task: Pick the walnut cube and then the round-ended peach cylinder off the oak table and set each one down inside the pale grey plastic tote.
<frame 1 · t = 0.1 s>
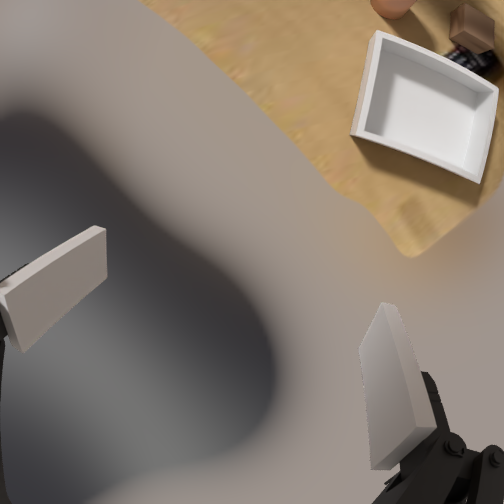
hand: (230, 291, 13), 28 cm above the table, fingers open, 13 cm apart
walnut cube: (464, 33, 24), on the table
tote: (422, 108, 31), on the table
round-ended peach cylinder: (388, 4, 26), on the table
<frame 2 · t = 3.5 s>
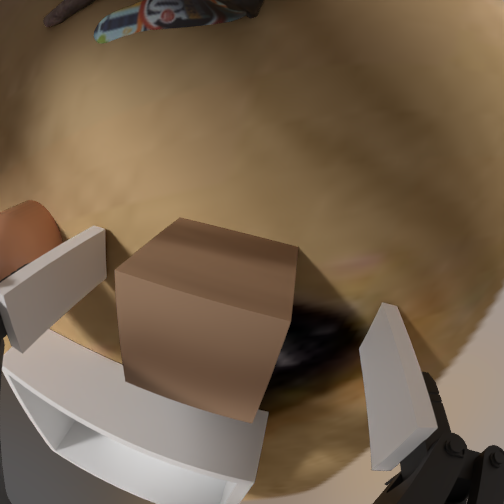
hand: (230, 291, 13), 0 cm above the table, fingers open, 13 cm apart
walnut cube: (227, 283, 13), on the table
tote: (141, 421, 20), on the table
round-ended peach cylinder: (37, 240, 14), on the table, touching gripper
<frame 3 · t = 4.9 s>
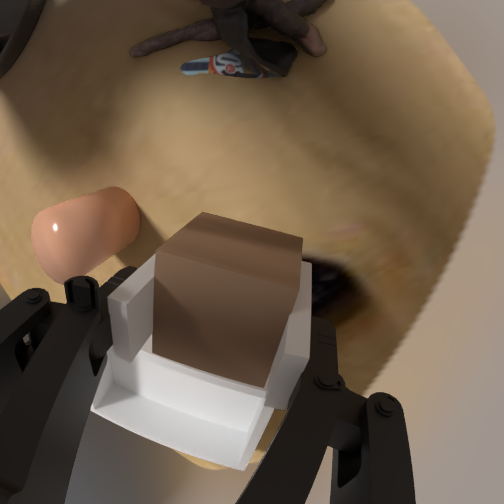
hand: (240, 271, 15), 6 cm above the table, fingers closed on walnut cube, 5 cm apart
stuffed animal: (240, 18, 15), on the table
walnut cube: (241, 270, 15), point 5 cm above the table, touching gripper
tote: (180, 373, 27), on the table
round-ended peach cylinder: (114, 217, 22), on the table
when the fingers open (4 cm above the table, at t = 8.0 s): walnut cube drops 3 cm, resting on tote.
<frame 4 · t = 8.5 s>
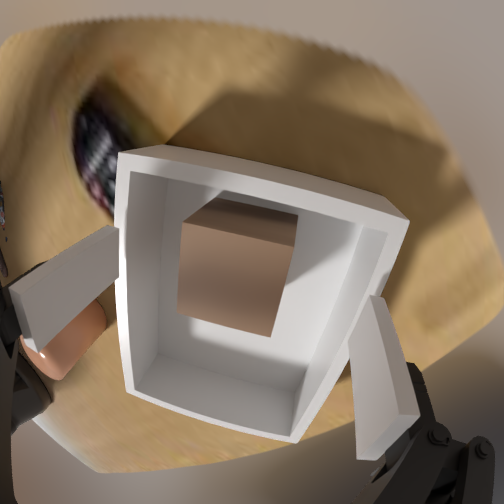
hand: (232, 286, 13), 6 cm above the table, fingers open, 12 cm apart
walnut cube: (248, 244, 18), resting on tote
tote: (243, 294, 20), on the table
round-ended peach cylinder: (85, 311, 24), on the table
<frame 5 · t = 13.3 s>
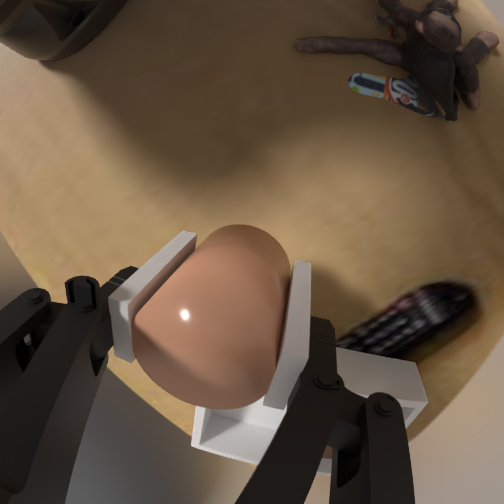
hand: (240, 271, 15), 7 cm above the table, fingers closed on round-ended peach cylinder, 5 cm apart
stuffed animal: (409, 48, 15), on the table
tote: (301, 396, 26), on the table
round-ended peach cylinder: (241, 271, 16), point 6 cm above the table, touching gripper
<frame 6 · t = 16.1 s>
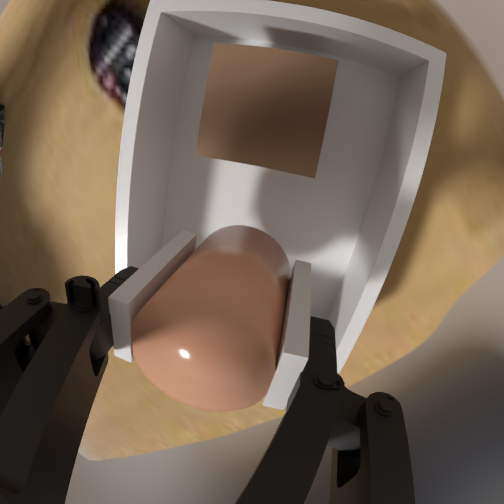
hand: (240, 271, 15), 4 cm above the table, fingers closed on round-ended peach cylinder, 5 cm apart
walnut cube: (276, 113, 15), resting on tote
tote: (268, 177, 17), on the table
round-ended peach cylinder: (241, 271, 15), point 4 cm above the table, touching gripper
when the fingers open (4 cm above the table, at t = 16.4 s): round-ended peach cylinder drops 3 cm, resting on tote.
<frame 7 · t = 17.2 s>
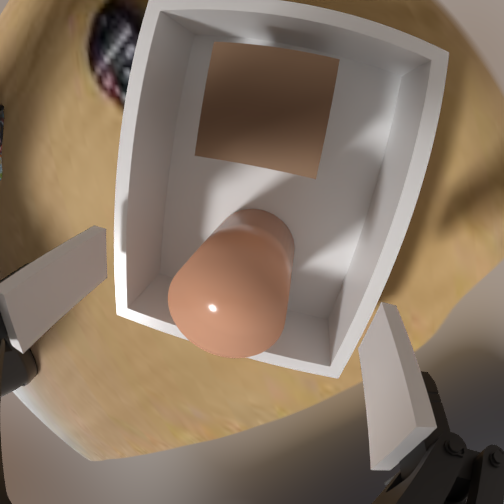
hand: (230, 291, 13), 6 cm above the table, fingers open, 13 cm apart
walnut cube: (277, 112, 15), resting on tote
tote: (268, 178, 17), on the table
round-ended peach cylinder: (253, 248, 18), resting on tote
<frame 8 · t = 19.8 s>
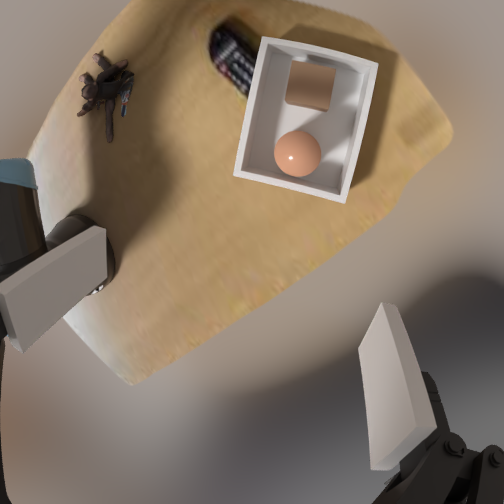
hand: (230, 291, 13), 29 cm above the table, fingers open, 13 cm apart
stuffed animal: (109, 94, 38), on the table
walnut cube: (310, 90, 33), resting on tote
tote: (306, 118, 35), on the table
round-ended peach cylinder: (299, 149, 37), resting on tote
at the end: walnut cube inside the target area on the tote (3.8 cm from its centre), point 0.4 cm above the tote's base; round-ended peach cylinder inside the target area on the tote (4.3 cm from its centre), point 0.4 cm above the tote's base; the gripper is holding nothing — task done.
